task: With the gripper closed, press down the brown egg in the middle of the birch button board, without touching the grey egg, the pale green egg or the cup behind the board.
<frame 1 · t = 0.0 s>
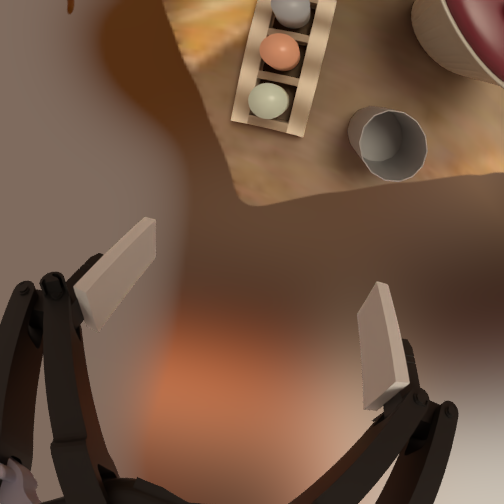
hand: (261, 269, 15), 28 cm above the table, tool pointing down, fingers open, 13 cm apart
cup: (375, 133, 34), on the table
canister: (445, 34, 22), on the table
grey egg: (291, 9, 22), point 6 cm above the table, slide at 0.0 cm
brown egg: (281, 53, 26), point 6 cm above the table, slide at 0.0 cm
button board: (285, 58, 31), on the table
pale green egg: (270, 100, 30), point 6 cm above the table, slide at 0.0 cm
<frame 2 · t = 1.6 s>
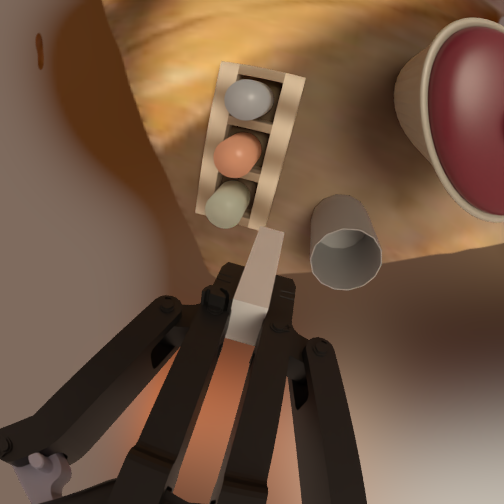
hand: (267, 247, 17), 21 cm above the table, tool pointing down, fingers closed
cup: (340, 221, 38), on the table
canister: (434, 104, 26), on the table
grey egg: (250, 99, 26), point 5 cm above the table, slide at 0.0 cm
brown egg: (238, 153, 30), point 6 cm above the table, slide at 0.0 cm
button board: (248, 144, 34), on the table
pale green egg: (228, 203, 34), point 5 cm above the table, slide at 0.0 cm
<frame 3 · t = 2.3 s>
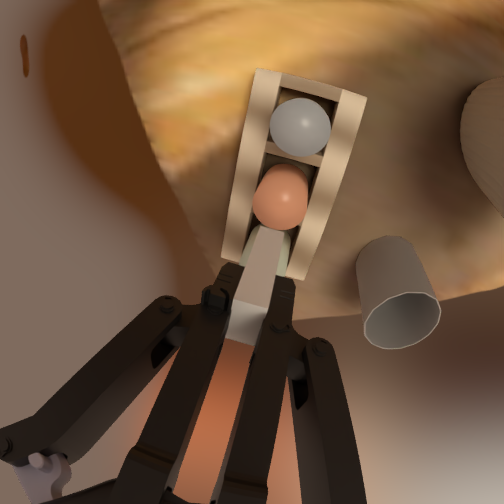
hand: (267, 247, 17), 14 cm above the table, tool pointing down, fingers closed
cup: (386, 263, 32), on the table
canister: (494, 135, 19), on the table
grey egg: (301, 124, 20), point 5 cm above the table, slide at 0.0 cm
brown egg: (282, 194, 24), point 6 cm above the table, slide at 0.0 cm
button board: (287, 176, 28), on the table
pale green egg: (266, 253, 28), point 5 cm above the table, slide at 0.0 cm
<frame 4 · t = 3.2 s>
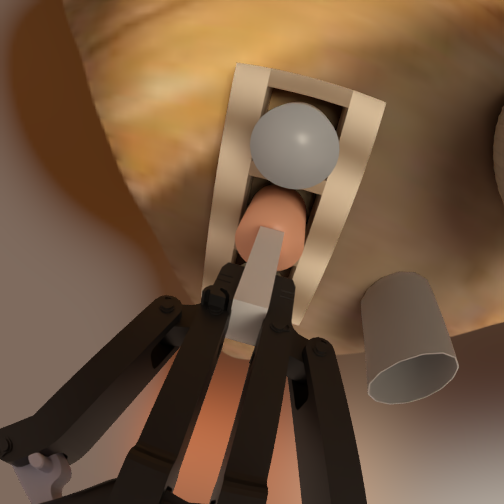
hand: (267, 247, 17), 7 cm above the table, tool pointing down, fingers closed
cup: (396, 301, 26), on the table
grey egg: (296, 139, 15), point 6 cm above the table, slide at 0.0 cm
brown egg: (274, 225, 19), point 4 cm above the table, slide at 1.3 cm, touching gripper
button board: (280, 202, 23), on the table
pale green egg: (252, 301, 22), point 6 cm above the table, slide at 0.0 cm
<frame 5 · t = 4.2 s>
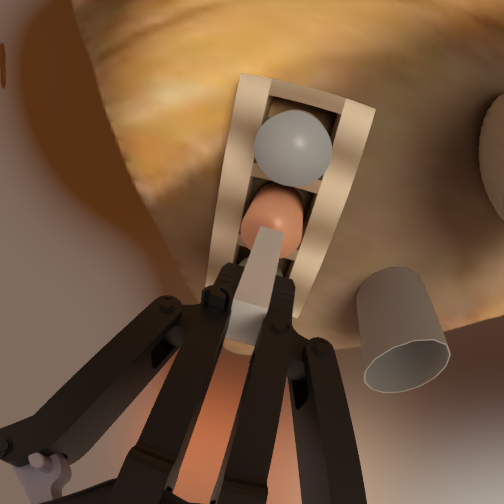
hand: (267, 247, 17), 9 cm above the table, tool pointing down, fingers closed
cup: (390, 296, 28), on the table
grey egg: (294, 143, 17), point 6 cm above the table, slide at 0.0 cm
brown egg: (275, 218, 22), point 4 cm above the table, slide at 1.8 cm
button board: (279, 201, 25), on the table
pale green egg: (254, 293, 24), point 6 cm above the table, slide at 0.0 cm
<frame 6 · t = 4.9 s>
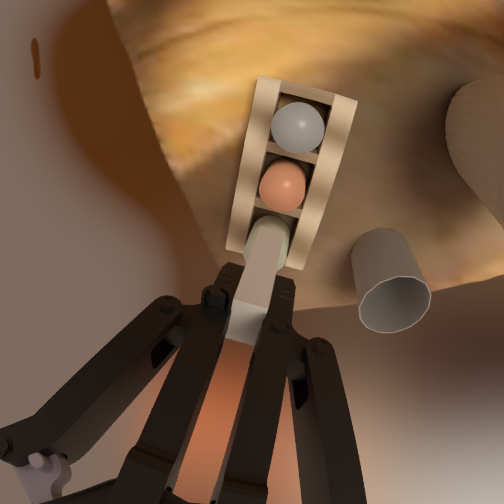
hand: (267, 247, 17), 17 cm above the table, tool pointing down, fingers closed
cup: (380, 255, 34), on the table
canister: (479, 132, 22), on the table
grey egg: (298, 125, 23), point 6 cm above the table, slide at 0.0 cm
brown egg: (284, 183, 28), point 4 cm above the table, slide at 1.8 cm
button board: (286, 173, 31), on the table
pale green egg: (268, 243, 30), point 5 cm above the table, slide at 0.0 cm
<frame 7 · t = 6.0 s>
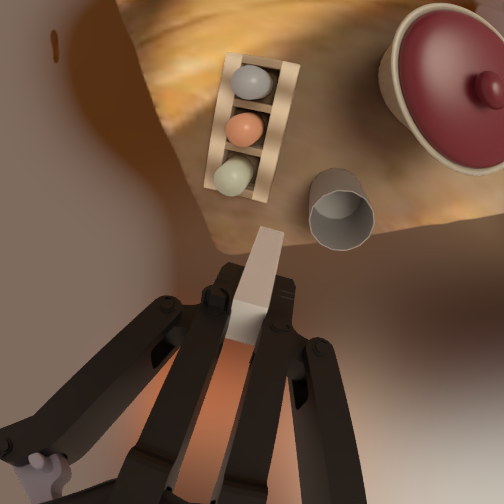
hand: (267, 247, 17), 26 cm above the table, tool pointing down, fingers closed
cup: (336, 193, 41), on the table
canister: (416, 86, 29), on the table
grey egg: (253, 83, 29), point 6 cm above the table, slide at 0.0 cm
brown egg: (246, 128, 35), point 4 cm above the table, slide at 1.8 cm
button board: (251, 125, 38), on the table
pale green egg: (234, 175, 37), point 6 cm above the table, slide at 0.0 cm
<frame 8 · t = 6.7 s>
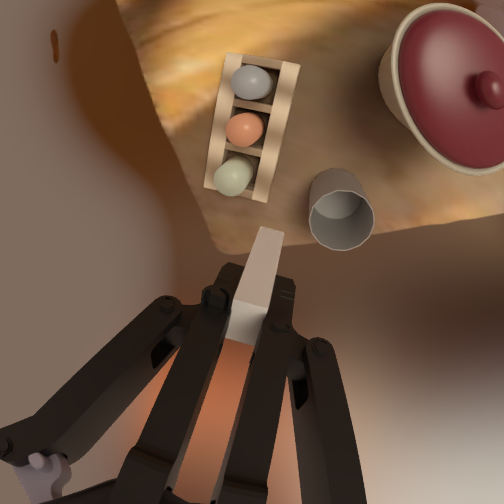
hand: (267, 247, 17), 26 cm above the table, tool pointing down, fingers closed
cup: (336, 193, 41), on the table
canister: (416, 86, 29), on the table
grey egg: (253, 83, 29), point 6 cm above the table, slide at 0.0 cm
brown egg: (246, 128, 35), point 4 cm above the table, slide at 1.8 cm
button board: (251, 125, 38), on the table
pale green egg: (234, 175, 37), point 6 cm above the table, slide at 0.0 cm
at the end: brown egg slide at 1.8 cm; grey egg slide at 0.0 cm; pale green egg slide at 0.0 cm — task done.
